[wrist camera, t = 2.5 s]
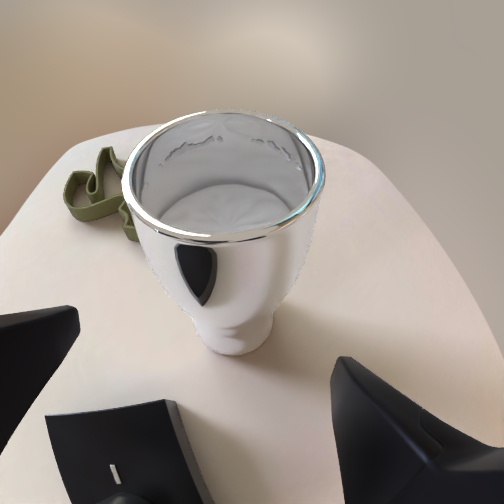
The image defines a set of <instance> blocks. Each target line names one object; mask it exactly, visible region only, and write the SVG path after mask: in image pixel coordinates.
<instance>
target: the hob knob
mask: <svg viewBox="0 0 504 504" xmlns="http://www.w3.org/2000/svg"><path fill="white" fill-rule="evenodd" d="M97 504H151V503H150V502H149V501H147V500H146V499H144V498H142V497H140V496H137V495H134V494H130V493H118V494H115V495H113V496H111V497H109V498H107V499H105V500H103V501H101V502H99V503H97Z"/></svg>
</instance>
